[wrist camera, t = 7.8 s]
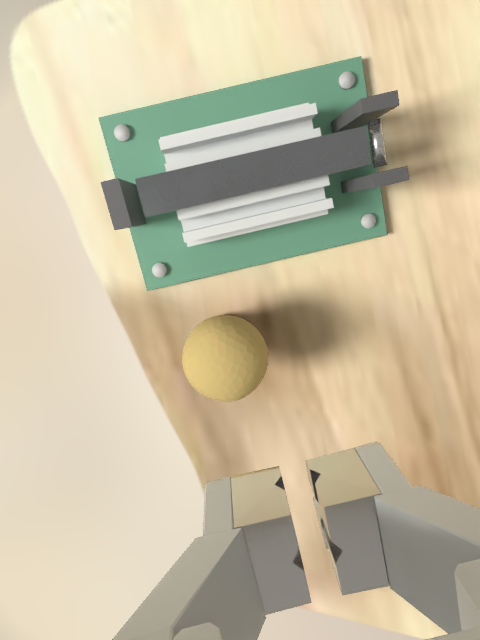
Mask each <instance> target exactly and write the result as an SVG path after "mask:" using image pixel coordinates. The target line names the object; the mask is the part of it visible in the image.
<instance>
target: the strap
mask: <svg viewBox="0 0 480 640" xmlns="http://www.w3.org/2000/svg"><path fill="white" fill-rule="evenodd" d="M367 125H368V132H369V139H370V145H371V152H372V159H373V166H374V168H376V167H380V166H384V165H387V159H386V152H385V144H384V137H383V130H382V123H381V119H375V120H372V121H369V122H367ZM368 165H371V157H370V150H369V144H368V137H367V130H366V126H362V127H358V128H354V129H349V130H345V131H341V132H336V133H332V134H328V135H323V136H319V137H315V138H310V139H306V140H302V141H297V142H293V143H289V144H284V145H280V146H276V147H271V148H267V149H263V150H258V151H254V152H250V153H245V154H241V155H237V156H232V157H228V158H224V159H219V160H215V161H211V162H206V163H202V164H198V165H193V166H189V167H185V168H180V169H176V170H172V171H167V172H163V173H159V174H154V175H150V176H146V177H141V178H137V179H135V181H136V185H137V189H138V192H139V196H140V200H141V203H142V207H143V211H144V214H145V217H150V216H154V215H159V214H163V213H167V212H171V211H176V210H180V209H184V208H189V207H193V206H197V205H201V204H206V203H210V202H214V201H218V200H223V199H227V198H231V197H236V196H240V195H244V194H248V193H253V192H257V191H261V190H265V189H270V188H274V187H278V186H283V185H287V184H291V183H295V182H300V181H304V180H308V179H312V178H317V177H321V176H325V175H330V174H334V173H338V172H342V171H347V170H351V169H355V168H359V167H364V166H368Z"/></svg>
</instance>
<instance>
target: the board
mask: <svg viewBox="0 0 480 640" xmlns="http://www.w3.org/2000/svg"><path fill="white" fill-rule="evenodd" d="M397 106H399V99H398V91H397V90H396V91H391V92H387V93H383V94H379V95H374V96H370V97H367V92H366V85H365V78H364V72H363V65H362V58H361V56H360V57H356V58H351V59H347V60H343V61H339V62H334V63H330V64H326V65H322V66H317V67H313V68H309V69H305V70H300V71H296V72H292V73H288V74H283V75H279V76H275V77H270V78H266V79H262V80H258V81H253V82H249V83H245V84H241V85H236V86H232V87H228V88H224V89H219V90H215V91H211V92H207V93H202V94H198V95H194V96H189V97H185V98H181V99H177V100H172V101H168V102H164V103H160V104H155V105H151V106H147V107H143V108H138V109H134V110H130V111H126V112H121V113H117V114H113V115H108V116H104V117H100V118H99V121H100V125H101V128H102V132H103V135H104V139H105V142H106V146H107V150H108V153H109V157H110V160H111V164H112V167H113V171H114V174H115V178H116V179H112V180H108V181H104V182H101V185H102V188H103V192H104V195H105V199H106V202H107V206H108V209H109V213H110V216H111V219H112V223H113V226H114V230H118V229H124V228H130V231H131V235H132V238H133V242H134V245H135V249H136V252H137V256H138V260H139V263H140V267H141V270H142V274H143V277H144V281H145V284H146V288H147V291H149V290H153V289H157V288H161V287H166V286H170V285H174V284H178V283H183V282H187V281H191V280H195V279H200V278H204V277H208V276H212V275H217V274H221V273H225V272H229V271H234V270H238V269H242V268H246V267H251V266H255V265H259V264H264V263H268V262H272V261H276V260H281V259H285V258H289V257H293V256H298V255H302V254H306V253H310V252H315V251H319V250H323V249H327V248H332V247H336V246H340V245H344V244H349V243H353V242H357V241H361V240H366V239H370V238H374V237H378V236H383V235H387V229H386V223H385V216H384V209H383V202H382V195H381V188H380V187H381V186H385V185H389V184H394V183H398V182H402V181H406V180H409V176H408V168H407V166H405V167H401V168H397V169H392V170H388V171H384V172H380V173H378V168H377V167H376V168H374V166H373V159H372V152H371V145H370V139H369V132H368V125H367V122H369V121H372V120H375V119H376V118H378V117H380V116H382V115H383V114H385V113H387V112H388V111H390V110H392V109H394V108H395V107H397ZM362 126H366V130H367V137H368V144H369V150H370V157H371V165H368V166H364V167H359V168H355V169H351V170H347V171H342V172H338V173H334V174H330V175H325V176H321V177H317V178H312V179H308V180H304V181H300V182H295V183H291V184H287V185H283V186H278V187H274V188H270V189H265V190H261V191H257V192H253V193H248V194H244V195H240V196H236V197H231V198H227V199H223V200H218V201H214V202H210V203H206V204H201V205H197V206H193V207H189V208H184V209H180V210H176V211H171V212H167V213H163V214H159V215H154V216H150V217H145V214H144V211H143V207H142V203H141V200H140V196H139V192H138V189H137V185H136V181H135V179H137V178H141V177H146V176H150V175H154V174H159V173H163V172H167V171H172V170H176V169H180V168H185V167H189V166H193V165H198V164H202V163H206V162H211V161H215V160H219V159H224V158H228V157H232V156H237V155H241V154H245V153H250V152H254V151H258V150H263V149H267V148H271V147H276V146H280V145H284V144H289V143H293V142H297V141H302V140H306V139H310V138H315V137H319V136H323V135H328V134H332V133H336V132H341V131H345V130H349V129H354V128H358V127H362Z"/></svg>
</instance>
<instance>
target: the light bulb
mask: <svg viewBox="0 0 480 640" xmlns="http://www.w3.org/2000/svg"><path fill="white" fill-rule="evenodd" d="M182 365H183V369H184V373H185V375H186V377H187V379H188V381H189V382H190V384H191V385H192V386H193V387H194V388H195V389H196V390H197V391H198V392H200V393H201V394H202V395H204V396H206V397H208V398H211V399H214V400H218V401H224V402H231V401H236V400H239V399H241V398H244V397H245V396H247V395H249V394H250V393H251V392H252V391H253V390H255V388H256V387H257V386H258V385H259V384H260V382H261V381H262V379H263V377H264V375H265V373H266V370H267V366H268V350H267V345H266V343H265V340H264V338H263V337H262V335H261V334H260V332H259V331H258V330H257V329H256V328H255V327H254V326H253V325H252V324H251V323H249V322H248V321H246V320H244V319H242V318H239V317H236V316H230V315H219V316H214V317H211V318H209V319H206V320H204V321H203V322H201V323H200V324H198V325H197V326H196V327H195V328H194V329H193V330H192V332H191V333H190V335H189V336H188V338H187V340H186V342H185V345H184V348H183V355H182Z"/></svg>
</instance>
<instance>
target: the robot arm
mask: <svg viewBox="0 0 480 640" xmlns="http://www.w3.org/2000/svg"><path fill="white" fill-rule="evenodd" d="M306 467H307V472H308V477H309V481H310V484H311V487H312V490H313V493H314V497H313V500H314V505H315V509H316V513H317V517H318V521H319V525H320V529H321V532H322V536H323V539H324V542H325V545H326V548H327V549H329V553H330V557H331V562H332V566H333V569H334V572H335V575H336V578H337V581H338V584H339V586H340V589H341V592H342V595H347V594H352V593H357V592H361V591H366V590H371V589H376V588H381V587H386V586H390V588H391V589H392V590H393V591H395V592H396V593H397V594H398V595H400V596H401V597H402V598H404V599H405V600H406V601H407V602H409V603H410V604H411V605H412V606H414V607H415V608H416V609H418V610H419V611H420V612H421V613H423V614H424V615H425V616H426V617H428V618H429V619H430V620H432V621H433V622H434V623H435V624H437V625H438V626H439V627H441V628H442V629H443V630H444V631H446V632H447V633H448V634H447V635H443V636H439V637H434V638H430V639H426V640H480V508H477V507H475V506H472V505H469V504H467V503H464V502H462V501H459V500H456V499H454V498H451V497H449V496H446V495H443V494H441V493H438V492H436V491H433V490H430V489H428V488H425V487H423V486H415V487H412V486H411V484H410V483H409V482H408V480H407V479H406V478H405V476H404V475H403V473H402V472H401V471H400V469H399V468H398V467H397V465H396V464H395V463H394V461H393V460H392V458H391V457H390V456H389V454H388V453H387V452H386V450H385V449H384V448H383V446H382V445H381V443H379V442H373V443H370V444H366V445H362V446H359V447H355V448H352V449H348V450H344V451H340V452H337V453H333V454H329V455H325V456H321V457H318V458H314V459H310V460H306ZM308 603H311V598H310V594H309V589H308V585H307V581H306V576H305V572H304V567H303V563H302V559H301V555H300V551H299V546H298V542H297V537H296V533H295V529H294V525H293V521H292V517H291V513H290V508H289V504H288V500H287V496H286V492H285V488H284V484H283V480H282V476H281V472H280V468H279V466H277V467H272V468H268V469H263V470H258V471H254V472H249V473H244V474H240V475H235V476H231V477H225V478H221V479H217V480H213V481H209V482H207V483H206V485H205V497H204V523H203V537H198V538H196V539H195V540H194V541H193V542H192V544H190V546H189V547H188V548H187V550H186V551H185V552H184V553H183V554H182V556H181V557H180V558H179V559H178V561H177V562H176V563H175V564H174V565H173V566H172V568H171V569H170V570H169V571H168V573H167V574H166V575H165V576H164V578H163V579H162V580H161V581H160V582H159V583H158V585H157V586H156V587H155V588H154V590H153V591H152V592H151V593H150V594H149V596H148V597H147V598H146V599H145V600H144V602H143V603H142V604H141V606H140V607H139V608H138V609H137V610H136V612H135V613H134V614H133V615H132V616H131V618H130V619H129V620H128V621H127V622H126V624H125V625H124V626H123V627H122V628H121V630H120V631H119V632H118V633H117V635H116V636H115V637H114V638H113V639H112V640H257V638H258V636H259V633H260V631H261V628H262V626H263V624H264V621H265V619H266V617H265V615H267V614H271V613H275V612H278V611H282V610H285V609H289V608H293V607H297V606H301V605H304V604H308Z"/></svg>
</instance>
